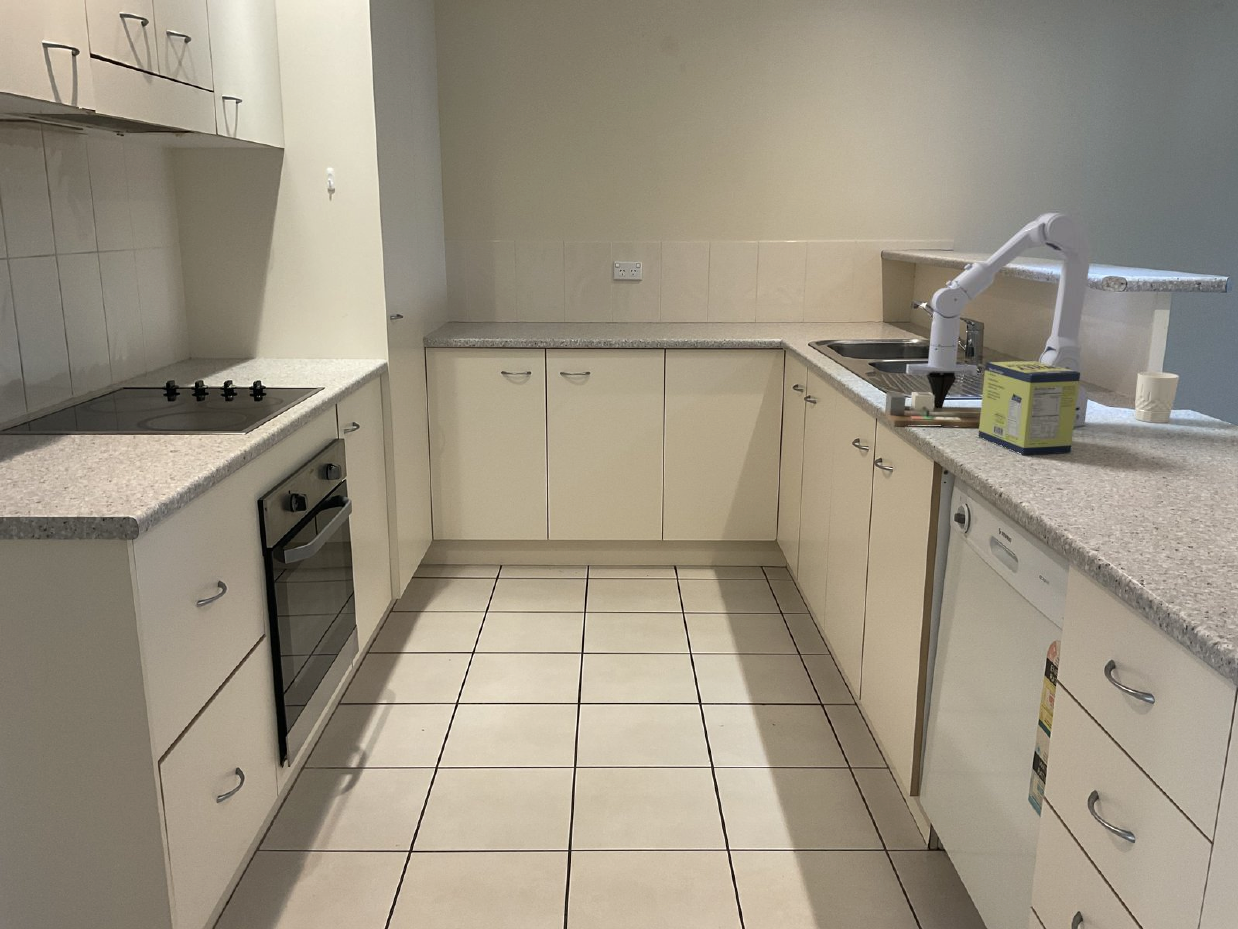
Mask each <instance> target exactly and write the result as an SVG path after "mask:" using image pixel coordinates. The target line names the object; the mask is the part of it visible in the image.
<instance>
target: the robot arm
mask: <svg viewBox="0 0 1238 929" xmlns="http://www.w3.org/2000/svg"><path fill="white" fill-rule="evenodd" d="M1046 246H1048V247H1049V248H1050V249H1053V251H1054V252H1055V253H1056V254H1057V255H1058V256H1059V257H1060V258H1061V259H1062V263H1061V270H1060V276H1059V282H1058V288H1057V296H1056V302H1055V309H1054V316H1053V323H1052V327H1051V328H1052V329H1051V334H1050V336H1049V338H1048V339H1047V341H1046V343H1045V344H1046V345H1045V348H1044V351H1043V352H1042V353H1041V354H1040V357H1039V359H1038V362H1039V363H1043V364H1047V365H1052V366H1056V367H1060V368H1064V369H1068V370H1073V371H1077V372H1080V375H1081V374H1082V372H1083V367H1084V366H1083V365H1084V364H1083V362H1082V358H1081V352H1082V351H1081V350H1082V349H1081V344H1080V341H1079V332H1080V326H1081V320H1082V313H1083V307H1084V301H1085V295H1086V290H1087V282H1088V278H1089V272H1090V270H1089V269H1090V265H1091V258H1092V249H1091V247H1090V244H1089V241H1088V239H1087V237H1086V235H1085V233H1084V231H1083V224H1082V223H1081V222H1080V221H1079V220H1078V219H1077V218H1076V217H1075V216H1073V215H1072V214H1070V213H1068V212H1058V213H1057V212H1044V213H1042V214H1040V215H1039V216H1038V217H1037V218H1036V219H1035V220H1033V221H1030V222H1029V223H1027V224H1026V225H1025V226H1024V227H1023V228H1021V229H1020V230H1019V231H1018V232H1017V233H1016V234H1015V235H1013V236H1012V237H1011V238H1010V239H1009V240H1008V241H1007V242H1005V244H1003V245H1002V246H1001V247H1000V248H999V249H998V250H996V251H995V252H994V253H993V254H992V255H991V256H990V257H989V258H988V259H986V261H984V262H981V261H975V262H974V263H972V264H971V263H967V264H966V265H965V266H964V267H963V268H964V271H963V272H961V273H960V274H959V275H958V276H956V277H955V278H954V279H953V280H952V281H951V280H948V281H947V282H946V283H945V285H946V286H947V287H942V288H940V289H938V290H937V291H936V292H935V293H934V294H933V297H932V299H930V307H931V309H932V310H933V313H932V314H933V315H932V322H931V326H930V327H931V328H930V339H929V349H928V363H910V364H908V363H907V364H906V371H905V373H906V374H907V375H926V379H927V380H928V383H929V386H930V389H931V393H932V394H933V395H934V396H935V397H934V407H935V408H942V407H944V404H945V400H946V398H947V395H948V393H949V391H950V389H951V388H952V386H953V384H954V383H955V381H956V376H955V375H959V376H961V375H963V376H977V375H978V366H977V365H975V364H973V365H971V364H959V363H958V364H957V356H958V348H959V336H960V325H961V324H960V319H961V314H962V313H963V311H964V310H965V307H966V304H968V303H970V302H971V301H973V300H974V299H975V298H976V297H978V296H979V295H980V294H981V293H983V292H984V291H985V290H986V289H987V288H989V287H990V286H991V285H992V284H993V283H994V282H995V275H996V274H997V273H998V272H999V271H1000V270H1002V269H1003V268H1005V267H1006V266H1007V265H1008V264H1010V263H1011V262H1013V261H1014V260H1015V259H1017V257H1019V256H1020V255H1022V254H1023V253H1024V252H1026V251H1027V250H1029V249H1034V248H1040V247H1046ZM1088 399H1089V394H1088V391H1087V389H1086V388H1085V387H1083V386H1082V385H1079V388H1078V396H1077V404H1076V412H1075V420H1074V428H1075V427H1082V426H1087V425H1088V422H1086V417H1087V416H1086V415H1087V407H1088V401H1089V400H1088Z"/></svg>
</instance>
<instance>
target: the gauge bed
mask: <svg viewBox="0 0 1238 929" xmlns="http://www.w3.org/2000/svg"><path fill="white" fill-rule="evenodd" d="M884 416H885V417H886V418H887V420H888V421H889V422H890V423H891V424H892V425H893V427H909V426H908V425H941V426H958V427H957V428H962V427H970V429H971V428H973V429H976V428H977V429H979V425H980V417H958V418H960V419H961V421H952V420H913V419H912V418H911V417H910V416H898V415H889V414H888V413H887V411H886V410H885V409H884ZM932 417H937V416H932Z"/></svg>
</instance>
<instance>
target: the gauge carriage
mask: <svg viewBox="0 0 1238 929" xmlns="http://www.w3.org/2000/svg"><path fill="white" fill-rule="evenodd" d="M934 397H935V396H934V395H933V393H932V392H930V391H929V392H928V391H927V392H926V391H925V392H924V391H921V392H920V391H911V397H910V406H911V407H910V410H911V411H926V417H929V411H933V408H934Z"/></svg>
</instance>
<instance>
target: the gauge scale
mask: <svg viewBox="0 0 1238 929" xmlns="http://www.w3.org/2000/svg"><path fill="white" fill-rule="evenodd" d="M910 417H911V418H912V419H913V420H952V421H961V419H960V418H958V417H932V416H929V417H926V416H910Z"/></svg>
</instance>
